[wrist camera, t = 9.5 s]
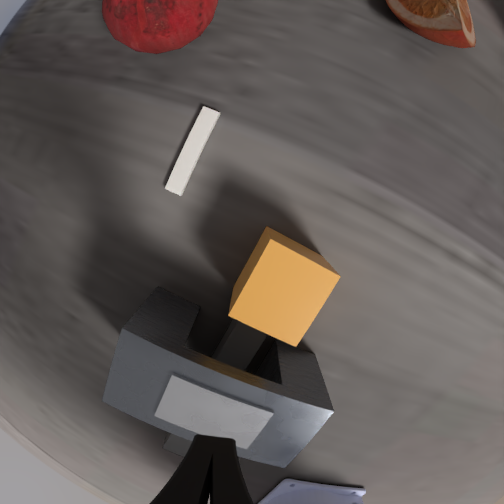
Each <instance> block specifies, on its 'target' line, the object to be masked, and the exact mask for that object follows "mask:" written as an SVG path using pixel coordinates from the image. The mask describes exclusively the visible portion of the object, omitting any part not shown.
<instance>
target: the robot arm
mask: <svg viewBox="0 0 504 504" xmlns="http://www.w3.org/2000/svg"><path fill="white" fill-rule="evenodd" d="M365 493H366V490H365V489H364V488H352V487H342V486H333V485H325V484H318V483H311V482H305V481H299V480H294V479H284V480H283V481H282V482H281V483H280V484H278V485H277V486H276V487H275V488H274V489H273V490H272V491H271V492H270V493H269V494H268V495H267V496H266V497H265V498H263V499H262V500H261V501H260V502H259V503H258V504H363V501H362V497H361V496H363V495H364V494H365ZM209 494H210V504H253V502H252V499H251V497H250V495H249V492H248V490H247V487H246V484H245V481H244V478H243V475H242V472H241V469H240V465H239V461H238V456H237V450H236V441H235V440H234V439H233V438H225V437H216V436H208V435H201V434H197V435H195V436H194V438H193V441H192V443H191V445H190V448H189V450H188V452H187V453H186V455H185V457H184V459H183V460H182V462H181V464H180V465H179V467H178V468H177V470H176V471H175V473H174V474H173V476H172V477H171V479H170V480H169V481H168V482H167V484H166V485H165V486H164V488H163V489H162V490H161V491H160V493H159V494H158V495H157V496H156V497H155V498H154V499H153V501H152V502H151V503H150V504H207V503H208V499H209Z"/></svg>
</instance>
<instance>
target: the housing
mask: <svg viewBox="0 0 504 504" xmlns="http://www.w3.org/2000/svg"><path fill="white" fill-rule="evenodd" d="M199 308H200V306H198V305H196V304H194V303H192V302H189V301H187V300H185V299H183V298H181V297H179V296H177V295H174V294H172V293H170V292H168V291H166V290H164V289H162V288H160V287H157V288H156V289H155V290H154V291H153V292H152V294H151V295H150V296H149V297H148V298H147V299H146V301H145V302H144V303H143V304H142V305H141V306H140V308H139V309H138V310H137V311H136V312H135V313H134V315H133V316H132V317H131V318H130V319H129V320H128V322H127V323H126V324H125V325H124V326H123V328H122V330H121V333H120V336H119V340H118V343H117V346H116V350H115V353H114V357H113V360H112V364H111V368H110V371H109V375H108V379H107V383H106V386H105V390H104V394H103V398H102V401H103V402H105V403H106V404H108V405H110V406H112V407H114V408H116V409H118V410H120V411H122V412H124V413H126V414H128V415H131V416H133V417H135V418H137V419H139V420H141V421H143V422H146V423H148V424H150V425H153V426H155V427H157V428H160V429H162V430H164V431H167V432H169V433H172V434H174V435H177V436H179V437H182V438H185V439H187V440H190V441H193V438H194V436H195V435H197V434H201V435H208V436H216V437H225V438H233V439H234V440H235V441H236V450H237V456H239V457H242V458H246V459H249V460H253V461H257V462H261V463H265V464H269V465H273V466H277V467H282V468H285V467H286V466H287V465H288V464H289V463H290V462H291V461H292V460H293V459H294V458H295V457H296V456H297V454H298V453H299V452H300V451H301V450H302V449H303V448H304V447H305V446H306V444H307V443H308V442H309V441H310V440H311V439H312V438H313V436H314V435H315V434H316V433H317V432H318V431H319V429H320V428H321V427H322V426H323V425H324V423H325V422H326V421H327V420H328V419H329V417H330V416H331V415H332V414H333V412H334V409H333V406H332V403H331V400H330V397H329V394H328V391H327V388H326V385H325V382H324V379H323V376H322V373H321V370H320V368H319V365H318V362H317V359H316V356H315V354H313V353H310V352H308V351H305V350H303V349H300V348H297V347H295V346H292V345H290V344H287V343H285V342H282V341H280V340H277V339H276V340H275V342H274V343H273V345H272V347H271V348H270V350H269V352H268V354H267V355H266V357H265V359H264V360H263V362H262V364H261V365H260V367H259V369H258V370H257V372H256V374H255V375H253V374H250V373H248V372H245V371H242V370H240V369H237V368H235V367H232V366H230V365H227V364H225V363H222V362H220V361H217V360H215V359H213V358H210V357H208V356H206V355H203V354H201V353H199V352H196V351H194V350H192V349H189V348H187V347H185V346H184V345H185V343H186V340H187V338H188V336H189V333H190V331H191V328H192V326H193V323H194V321H195V318H196V316H197V313H198V311H199Z"/></svg>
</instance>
